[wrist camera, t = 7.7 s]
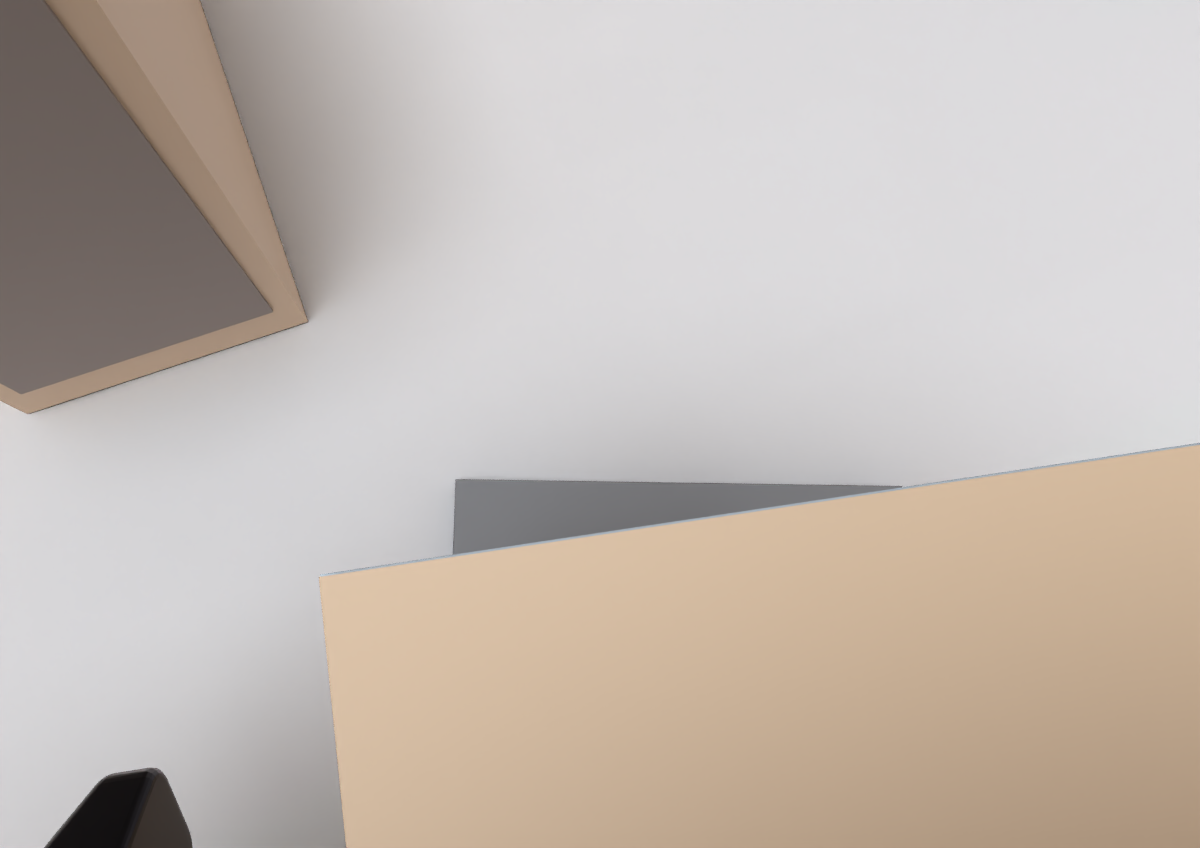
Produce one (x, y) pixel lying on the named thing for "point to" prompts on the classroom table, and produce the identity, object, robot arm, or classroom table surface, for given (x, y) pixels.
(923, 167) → the classroom table surface
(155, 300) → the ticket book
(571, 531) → the mat
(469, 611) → the stub
